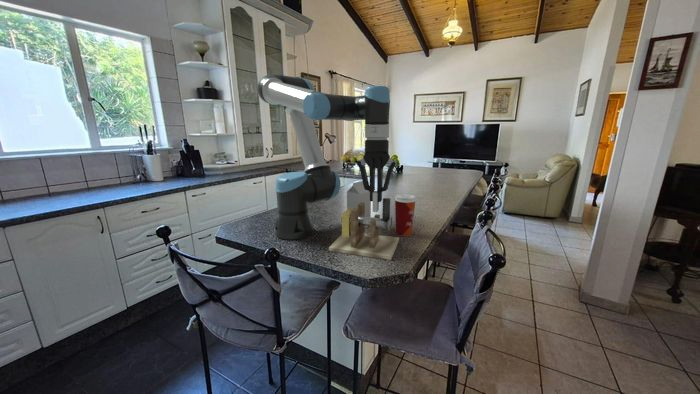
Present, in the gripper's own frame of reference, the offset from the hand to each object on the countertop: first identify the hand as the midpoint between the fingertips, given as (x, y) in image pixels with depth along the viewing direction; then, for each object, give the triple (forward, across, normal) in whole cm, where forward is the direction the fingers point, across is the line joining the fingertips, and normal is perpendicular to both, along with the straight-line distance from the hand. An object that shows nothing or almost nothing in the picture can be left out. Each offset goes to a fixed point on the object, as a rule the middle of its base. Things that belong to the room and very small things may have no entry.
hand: (375, 210), depth 92 cm
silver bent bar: (+6, -3, 0) cm, 7 cm away
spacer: (+5, -10, 0) cm, 11 cm away
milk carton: (+13, -12, +18) cm, 25 cm away
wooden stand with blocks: (+13, -4, 0) cm, 14 cm away
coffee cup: (+13, +7, +16) cm, 22 cm away
